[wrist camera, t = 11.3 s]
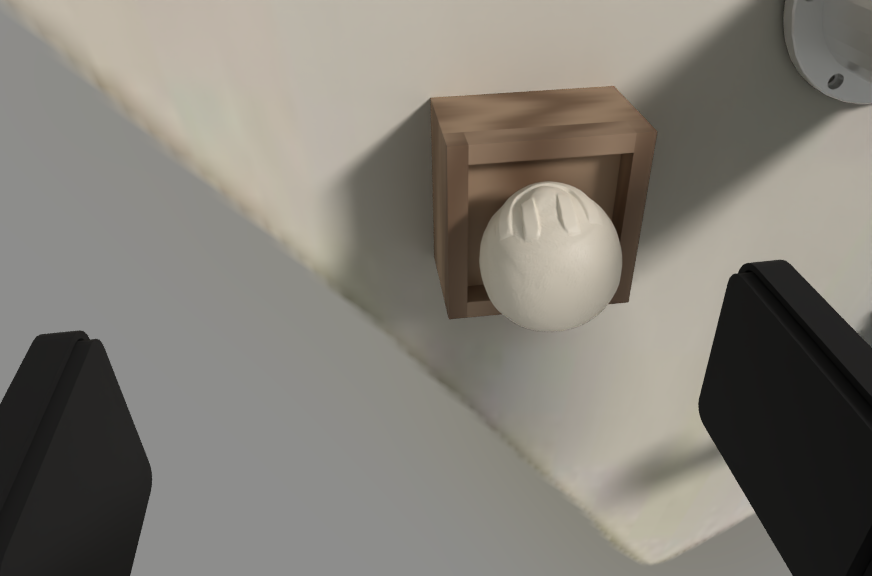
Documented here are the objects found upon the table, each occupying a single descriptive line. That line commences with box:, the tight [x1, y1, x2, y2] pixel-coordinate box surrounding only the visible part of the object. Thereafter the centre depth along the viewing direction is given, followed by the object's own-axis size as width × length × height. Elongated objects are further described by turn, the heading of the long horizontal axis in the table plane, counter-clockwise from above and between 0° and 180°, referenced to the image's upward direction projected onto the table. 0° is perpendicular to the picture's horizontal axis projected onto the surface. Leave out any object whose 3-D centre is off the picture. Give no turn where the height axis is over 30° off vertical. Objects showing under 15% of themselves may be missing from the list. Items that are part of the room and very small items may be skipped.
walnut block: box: [430, 86, 657, 319], centre depth 39 cm, size 10×10×6 cm
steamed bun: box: [479, 181, 622, 332], centre depth 35 cm, size 7×7×7 cm
